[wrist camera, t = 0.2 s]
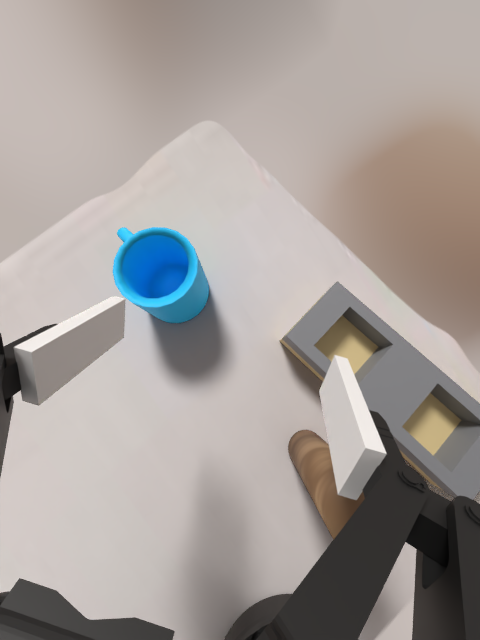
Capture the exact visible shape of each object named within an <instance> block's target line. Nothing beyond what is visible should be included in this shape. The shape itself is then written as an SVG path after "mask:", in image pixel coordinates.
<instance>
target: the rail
mask: <svg viewBox="0 0 480 640" xmlns="http://www.w3.org/2000/svg"><path fill="white" fill-rule="evenodd" d="M280 342H281V343H282V344H283V345H284V346H285V347H286V348H288V349H289V350H290V351H291V352H292V353H293V354H294V355H295V356H296V357H297V358H298V359H299V360H300V361H301V362H302V363H303V364H304V365H306V366H307V367H308V368H309V369H310V370H311V371H312V372H313V373H314V374H315V375H316V376H317V377H318V378H319V379H320V380H321V381H324V379H325V376H326V374H327V372H328V369H329V367H330V365H331V362H332V360H333V358H334V355H337V356H340V357H344V358H348V361H349V363H350V366H351V368H352V371H353V373H354V375H355V378H356V380H357V383H358V385H359V388H360V390H361V392H362V395H363V397H364V400H365V402H366V405H367V407H368V410H371V411H375V412H378V413H379V414H380V415H381V416H382V417H383V419H384V420H385V421H386V423H387V425H388V427H389V429H390V432H391V433H392V435H393V437H394V438H393V439H394V440H395V442H396V444H397V446H398V448H399V450H400V452H401V454H402V457H403V458H404V459H405V460H406V461H407V462H408V463H410V464H411V465H412V466H413V467H414V468H415V469H416V470H417V471H418V472H419V473H420V474H421V475H422V476H423V477H424V478H425V479H426V480H428V481H429V482H430V483H431V484H433V485H434V486H436V487H438V488H439V489H441V490H443V491H444V492H446V493H448V494H449V495H451V496H453V497H454V498H455V497H457V496H459V495H460V496H465V497H468V498H470V499H472V500H473V499H474V498H475V497H476V495H477V494H478V493H479V491H480V404H479V403H478V402H477V401H476V400H475V399H474V398H472V397H471V396H470V395H469V394H468V393H467V392H466V391H464V390H463V389H462V388H461V387H460V386H459V385H457V384H456V383H455V382H454V381H453V380H452V379H450V378H449V377H448V376H447V375H446V374H445V373H443V372H442V371H441V370H440V369H439V368H438V367H436V366H435V365H434V364H433V363H432V362H431V361H429V360H428V359H427V358H426V357H425V356H424V355H422V354H421V353H420V352H419V351H418V350H417V349H416V348H414V347H413V346H412V345H411V344H410V343H409V342H407V341H406V340H405V339H404V338H403V337H402V336H400V335H399V334H398V333H397V332H396V331H395V330H393V329H392V328H391V327H390V326H389V325H388V324H386V323H385V322H384V321H383V320H382V319H381V318H379V317H378V316H377V315H376V314H375V313H374V312H372V311H371V310H370V309H369V308H368V307H367V306H366V305H364V304H363V303H362V302H361V301H360V300H359V299H357V298H356V297H355V296H354V295H353V294H352V293H350V292H349V291H348V290H347V289H346V288H345V287H343V286H342V285H341V284H340V283H339V282H338V281H337V282H336V283H335V284H334V285H333V286H332V287H331V288H330V289H329V290H328V291H327V292H326V293H325V294H324V295H323V296H322V297H321V298H320V299H319V300H318V301H317V302H316V303H315V304H314V305H313V306H312V307H311V308H310V310H309V311H308V312H307V313H306V314H305V315H304V316H303V317H302V318H301V319H300V320H299V321H298V322H297V323H296V324H295V325H294V326H293V327H292V328H291V329H290V331H289V332H288V333H287V334H286V335H285V336H284V337H283V338H282V339H281V340H280Z"/></svg>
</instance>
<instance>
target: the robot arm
mask: <svg viewBox="0 0 480 640" xmlns="http://www.w3.org/2000/svg"><path fill="white" fill-rule="evenodd" d="M124 322H125V299H124V298H120V297H116V296H112V297H110V298H109V299H107V300H105V301H103V302H101V303H99V304H97V305H95V306H93V307H91V308H89V309H87V310H85V311H83V312H81V313H79V314H77V315H75V316H73V317H71V318H69V319H67V320H66V321H64V322H62V323H60V324H53V325H49V326H45V327H43V328H40V329H38V330H36V331H35V332H32V333H30V334H28V335H27V336H24V337H22V338H20V339H18V340H16V341H14V342H12V343H10V344H8V345H6V346H4V347H3V342H2V337H1V333H0V476H1V471H2V465H3V459H4V454H5V448H6V442H7V437H8V431H9V425H10V420H11V414H12V409H13V403H14V401H13V395H14V394H16V393H17V392H19V391H20V390H21V394H22V400H23V401H25V402H29V403H32V404H35V405H40V404H41V403H43V402H44V401H45V400H46V399H48V398H49V397H50V396H51V395H53V394H54V393H55V392H56V391H58V390H59V389H60V388H61V387H63V386H64V385H65V384H66V383H68V382H69V381H70V380H71V379H73V378H74V377H75V376H76V375H78V374H79V373H80V372H81V371H83V370H84V369H85V368H86V367H88V366H89V365H90V364H91V363H93V362H94V361H95V360H96V359H98V358H99V357H100V356H101V355H103V354H104V353H105V352H106V351H108V350H109V349H110V348H111V347H113V346H114V345H115V344H116V343H118V342H119V341H120V340H121V339H122V338H124ZM319 394H320V399H321V405H322V410H323V416H324V421H325V427H326V432H327V438H328V443H329V449H330V454H331V460H332V465H333V471H334V476H335V482H336V487H337V493H338V495H340V496H344V497H347V498H350V499H354V500H357V499H358V498H359V496H360V494H361V493H362V491H363V493H364V497H365V499H364V500H363V502H362V503H361V504H360V506H359V507H358V508H357V510H356V511H355V512H354V514H353V515H352V516H351V518H350V519H349V520H348V522H347V523H346V524H345V526H344V527H343V528H342V529H341V531H340V532H339V533H338V535H337V536H336V537H335V539H334V540H333V541H332V543H331V544H330V545H329V547H328V548H327V549H326V551H325V552H324V553H323V555H322V556H321V557H320V559H319V560H318V561H317V562H316V564H315V565H314V566H313V568H312V569H311V570H310V572H309V573H308V574H307V576H306V577H305V578H304V580H303V581H302V582H301V584H300V585H299V586H298V588H297V589H296V590H295V591H294V593H293V594H282V595H276V596H272V597H269V598H266V599H264V600H262V601H259V602H258V603H256V604H254V605H253V606H251V607H250V608H249V609H248V610H246V611H245V612H244V613H243V614H242V615H241V616H240V617H239V618H238V619H237V620H236V622H235V623H234V624H233V626H232V627H231V629H230V630H229V632H228V634H227V636H226V638H225V640H358V637H359V635H360V633H361V631H362V629H363V627H364V625H365V623H366V621H367V619H368V617H369V615H370V613H371V611H372V609H373V607H374V605H375V603H376V601H377V599H378V597H379V595H380V592H381V590H382V588H383V586H384V584H385V582H386V580H387V578H388V576H389V574H390V572H391V570H392V568H393V566H394V564H395V562H396V560H397V558H398V556H399V554H400V552H401V550H402V548H403V546H404V544H405V542H407V543H408V544H410V545H411V546H413V547H414V548H416V549H417V553H416V573H415V593H414V614H413V634H412V640H480V504H479V503H477V502H476V501H474V500H472V499H470V498H468V497H465V496H460V495H459V496H457V497H455V498H454V499H453V500H452V501H449V500H447V499H445V498H443V497H442V496H440V495H438V494H436V493H434V492H432V491H431V490H429V488H428V486H427V483H426V482H425V481H424V479H423V478H422V477H421V475H419V474H418V473H417V472H416V471H415V470H414V469H412V468H411V467H409V466H407V465H406V463H405V461H404V459H403V457H402V454H401V452H400V450H399V448H398V446H397V444H396V442H395V440H394V439H393V438H394V437H393V435H392V433H391V432H390V429H389V427H388V425H387V423H386V421H385V420H384V419H383V417H382V416H381V415H380V414H379V413H378V412H375V411H371V410H368V407H367V405H366V402H365V400H364V397H363V395H362V392H361V390H360V388H359V385H358V383H357V380H356V378H355V375H354V373H353V371H352V368H351V366H350V363H349V361H348V358H344V357H340V356H337V355H334V358H333V360H332V362H331V365H330V367H329V369H328V372H327V374H326V376H325V379H324V381H323V383H322V386H321V388H320V390H319ZM174 632H175V631H173V630H170V629H167V628H164V627H161V626H158V625H155V624H153V623H150V622H147V621H144V620H141V619H138V618H121V619H102V620H89V619H87V618H85V617H84V616H83V615H82V614H81V613H80V612H79V611H78V610H77V609H75V608H74V607H73V606H72V605H71V604H70V603H69V602H68V601H67V600H66V599H65V598H64V597H63V596H62V595H61V594H59V593H58V592H57V591H56V590H53V589H50V588H47V587H44V586H41V585H38V584H35V583H32V582H29V581H26V580H23V579H20V578H19V580H18V581H17V582H16V584H15V585H14V587H13V588H12V589H11V591H10V592H3V593H0V640H172V639H173V636H174Z"/></svg>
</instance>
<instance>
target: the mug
mask: <svg viewBox="0 0 480 640" xmlns="http://www.w3.org/2000/svg"><path fill="white" fill-rule="evenodd" d="M117 235H118V237H119V238H120V239H121V240H122V241H123V242H124V243H123V245H122V246H121V247H120V248H119V250H118V252H117V255H116V257H115V259H114V266H113V275H114V280H115V284H116V286H117V287H118V289H119V291H120V292H121V294H122V295H123V296H124V297H126V298H127V299H128V300H129V301H131V302H132V303H134V304H135V305H137V306H138V307H140V308H142V309H143V310H145V311H147V312H148V313H150V314H152V315H153V316H155V317H156V318H158V319H160V320H163V321H165V322H168V323H182V322H185V321H188V320H191V319H192V318H194V317H195V316H197V315H198V314H199V313H200V312H201V311H202V309H203V308H204V307H205V305H206V302H207V300H208V297H209V285H208V282H207V278H206V276H205V273H204V271H203V268H202V266H201V264H200V261H199V259H198V256H197V254H196V251H195V249H194V247H193V246H192V245H191V243H190V242H189V240H188V239H187V238H186V237H184V236H183V235H181V234H180V233H179V232H177V231H174V230H171V229H168V228H156V227H152V228H149V229H145V230H141V231H139V232H137V233H136V234H134V235H133V234H132V233H131V232H130V231H129V230H128V229H127V228H120V229H119V230H118V232H117Z"/></svg>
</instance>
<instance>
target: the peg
mask: <svg viewBox="0 0 480 640" xmlns="http://www.w3.org/2000/svg"><path fill="white" fill-rule="evenodd" d="M288 452H289V455H290V458H291V460H292V462H293V463H294V465H295V467H296V469H297V471H298V473H299V475H300V477H301V479H302V481H303V483H304V484H305V486H306V488H307V490H308V492H309V494H310V496H311V498H312V500H313V502H314V503H315V505H316V507H317V509H318V511H319V513H320V515H321V517H322V519H323V521H324V523H325V524H326V526H327V528H328V530H329V532H330V534H331V536H332V537H333V539H335V537H336V536H337V535H338V533H339V532H340V531H341V529H342V528H343V527H344V526H345V524H346V523H347V522H348V520H349V519H350V518H351V516H352V515H353V514H354V512H355V511H356V510H357V508H358V507H359V506H360V504H361V503H362V502H363V500H364V499H365V497H364V493H363V491H362V493H361V494H360V496H359V498H358V499H357V500H354V499H350V498H347V497H344V496H340V495H338V493H337V487H336V482H335V476H334V471H333V465H332V460H331V454H330V449H329V444H327V443H326V442H325V441H324V440H323V439H322V438H321V437H319V436H318V435H317V434H316V433H314V432H312V431H309V430H301V431H298V432H297V433H295V434H294V435H293V436H292V437H291V439H290V441H289V445H288Z"/></svg>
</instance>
